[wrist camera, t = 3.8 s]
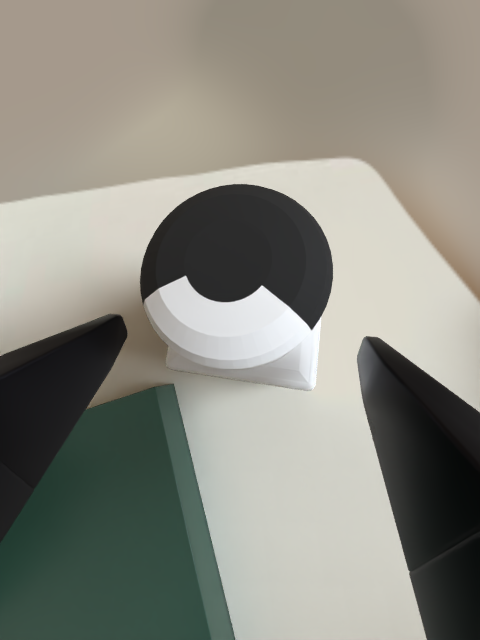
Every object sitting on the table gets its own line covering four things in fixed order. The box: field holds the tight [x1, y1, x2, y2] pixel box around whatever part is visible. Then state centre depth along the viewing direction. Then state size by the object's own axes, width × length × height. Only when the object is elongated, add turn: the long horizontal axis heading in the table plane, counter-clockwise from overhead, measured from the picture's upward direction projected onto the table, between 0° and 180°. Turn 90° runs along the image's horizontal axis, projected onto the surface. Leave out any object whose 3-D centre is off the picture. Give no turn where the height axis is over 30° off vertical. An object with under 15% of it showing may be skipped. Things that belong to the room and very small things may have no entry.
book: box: [0, 384, 235, 640], centre depth 15 cm, size 18×13×3 cm
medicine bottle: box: [140, 184, 333, 391], centre depth 13 cm, size 7×7×12 cm
